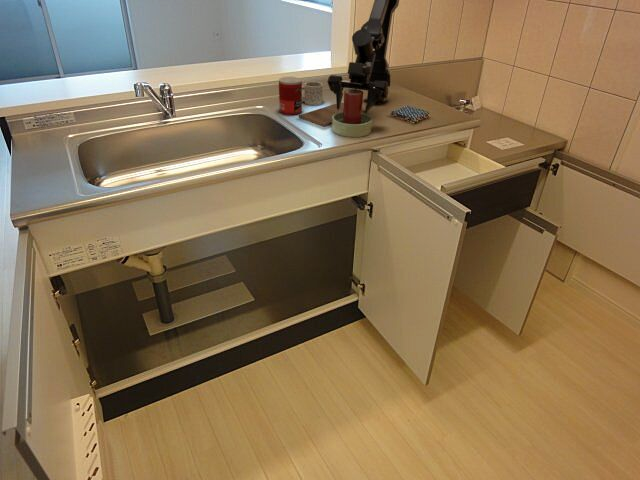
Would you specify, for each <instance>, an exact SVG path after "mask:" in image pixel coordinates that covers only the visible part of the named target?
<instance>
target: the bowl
mask: <svg viewBox="0 0 640 480" xmlns="http://www.w3.org/2000/svg"><path fill="white" fill-rule="evenodd" d="M372 124H373V118H372V116H371V115H369V114H368V113H367V114H365V113H362V116H361V124H354V125H353V124H345V123H343V112H339V113H336V114H334V115H333V116H332V125H331V131H332V132H333V133H334V134H336V135H338V136H342V137H345V138H346V137H347V138H361V137H365V136H368V135H370V134H371V132H372Z"/></svg>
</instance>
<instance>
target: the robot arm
mask: <svg viewBox="0 0 640 480" xmlns="http://www.w3.org/2000/svg"><path fill="white" fill-rule="evenodd" d="M399 5H400V0H374V1H373V4H372V8H371V11H370V13H369V18H368V20H367V21H366V22H365V23H364V24H362V26H361V27H360V29H358V30H356V31H355V32H354V33H353V34H352V36H351V41H352V45H353V49H354V54H355V55H356V57H355V61H354V62H352V61H350V62H348V68H347V74H348V79H349V80H343V77H342V75H335V74H331V75H329V76H328V78H327V81H326V82H327V85H328V88H329V90H330V92H332V93H333V94H334V95H335V99H336V100H335V101H336V103H337V110H339V108H340V105H341V103H342V100H343V97H344V92H343V91H344V88H345V89H357V90H361V91H367V96H366V98H363V101H364V102H366V105H365V109H364V110H365V114H368V112H370V110H371V109H372V108H373V107H374V105H380V104H383V103H387V102H388V99H387V98H388V96H389V87H391V74H390V73H391V72H390V69H389V67H390V66H389V63H388V59H387V51H388V45H389V38H390V32H391V27H392V20H393V14H394V12H395V11H396V10H397V8H398V7H399Z"/></svg>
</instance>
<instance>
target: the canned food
mask: <svg viewBox="0 0 640 480" xmlns="http://www.w3.org/2000/svg"><path fill="white" fill-rule="evenodd" d="M302 86H303V81H302V78H299V77H296V76H283V77H280V78H278V101H279V111H280V113H282V114H283V115H289V116H293V115H295V116H296V115H300V114H301V113H302V110H303V101H302V97H303V89H302Z"/></svg>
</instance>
